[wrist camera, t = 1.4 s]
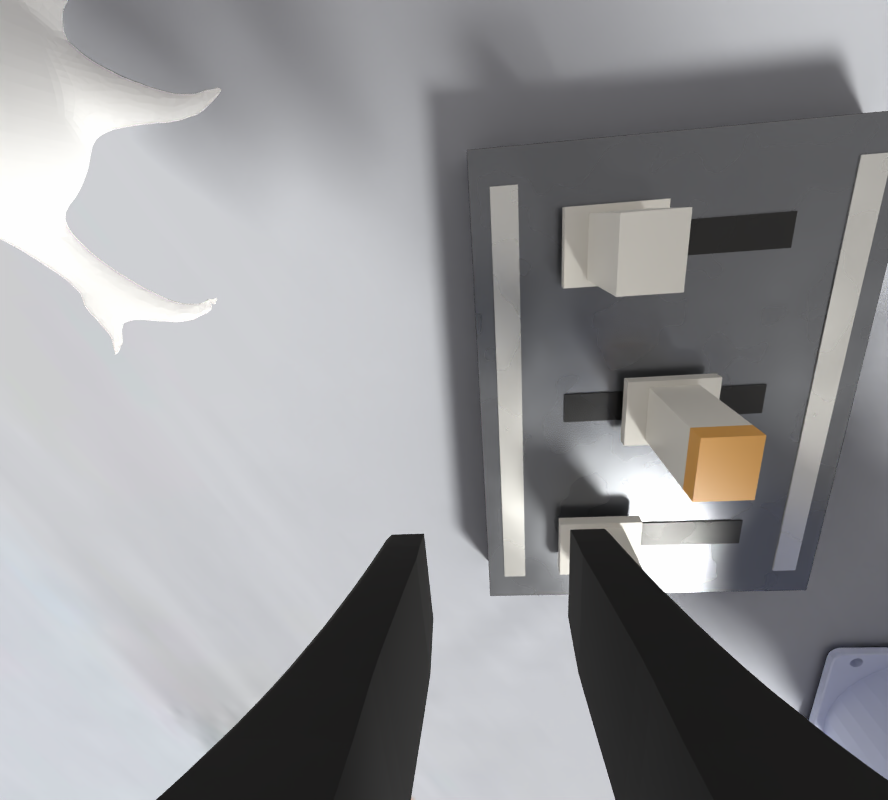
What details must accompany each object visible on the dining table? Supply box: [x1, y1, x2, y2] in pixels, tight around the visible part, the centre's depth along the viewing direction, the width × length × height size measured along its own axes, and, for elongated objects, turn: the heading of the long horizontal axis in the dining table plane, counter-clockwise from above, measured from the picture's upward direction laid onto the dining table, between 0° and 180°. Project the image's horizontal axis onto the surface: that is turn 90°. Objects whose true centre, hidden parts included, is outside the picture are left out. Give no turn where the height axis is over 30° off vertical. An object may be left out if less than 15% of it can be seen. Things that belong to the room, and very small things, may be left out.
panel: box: [467, 111, 888, 596], centre depth 17 cm, size 12×16×2 cm
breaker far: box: [558, 516, 643, 575], centre depth 16 cm, size 3×2×3 cm
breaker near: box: [562, 198, 692, 297], centre depth 12 cm, size 3×2×3 cm
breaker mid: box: [620, 373, 766, 502], centre depth 14 cm, size 3×2×4 cm
